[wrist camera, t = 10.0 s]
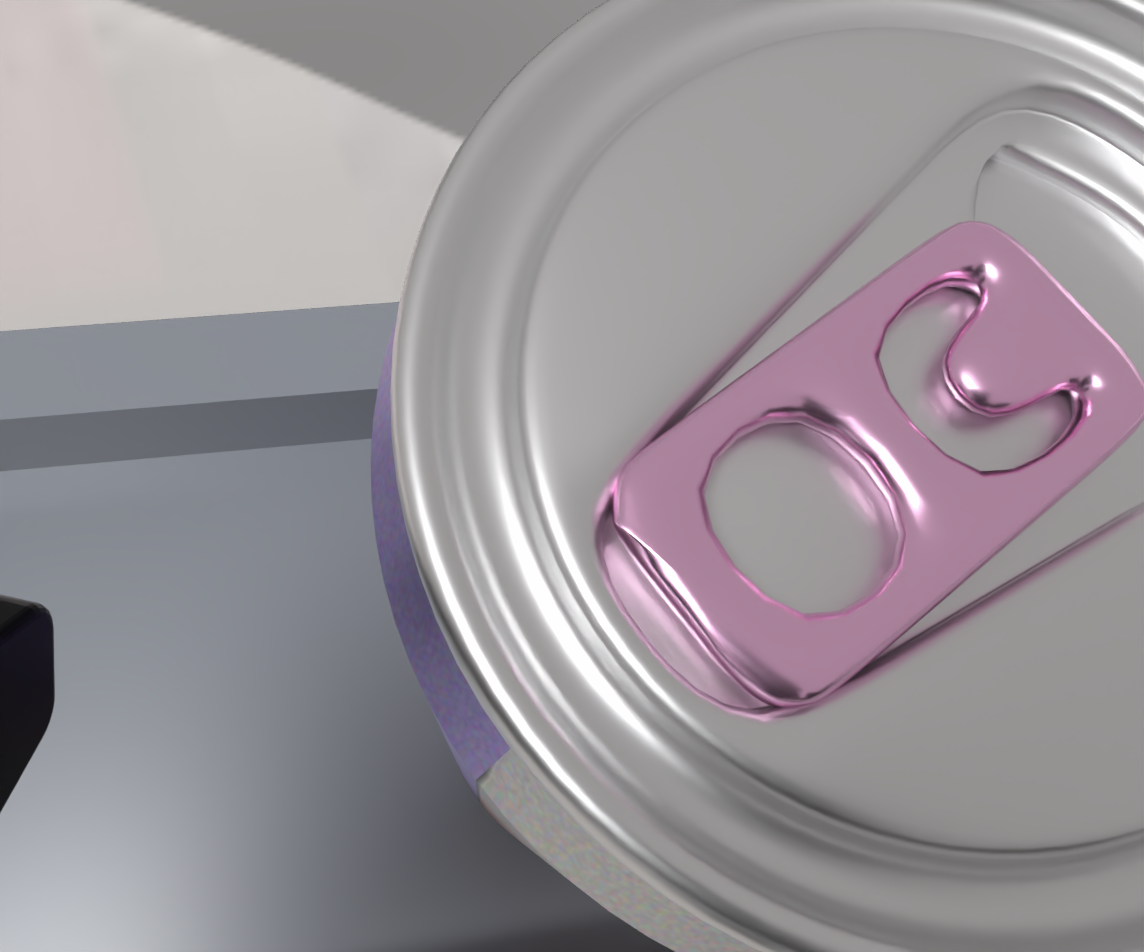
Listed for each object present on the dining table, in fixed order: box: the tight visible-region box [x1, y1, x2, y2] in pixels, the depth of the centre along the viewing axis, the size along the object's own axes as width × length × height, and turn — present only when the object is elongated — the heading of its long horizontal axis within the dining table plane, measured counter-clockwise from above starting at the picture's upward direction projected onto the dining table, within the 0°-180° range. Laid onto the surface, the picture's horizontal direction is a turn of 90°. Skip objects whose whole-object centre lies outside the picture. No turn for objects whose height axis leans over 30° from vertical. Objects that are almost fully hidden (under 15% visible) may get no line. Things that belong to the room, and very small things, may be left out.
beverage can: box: [371, 0, 1144, 952], centre depth 12 cm, size 6×6×15 cm
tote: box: [0, 302, 675, 952], centre depth 18 cm, size 20×13×4 cm, turn 97°
